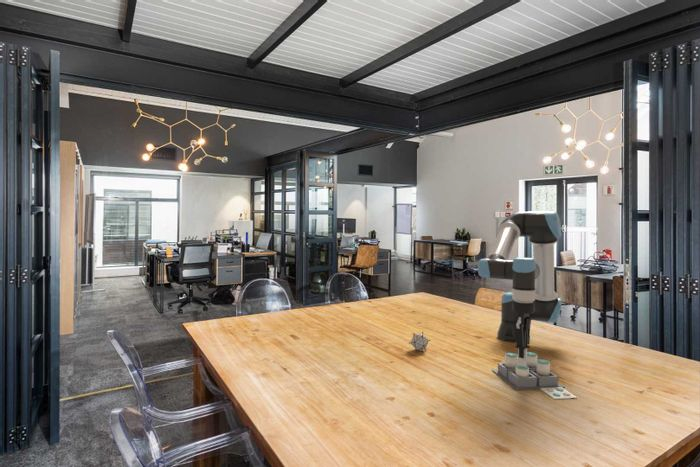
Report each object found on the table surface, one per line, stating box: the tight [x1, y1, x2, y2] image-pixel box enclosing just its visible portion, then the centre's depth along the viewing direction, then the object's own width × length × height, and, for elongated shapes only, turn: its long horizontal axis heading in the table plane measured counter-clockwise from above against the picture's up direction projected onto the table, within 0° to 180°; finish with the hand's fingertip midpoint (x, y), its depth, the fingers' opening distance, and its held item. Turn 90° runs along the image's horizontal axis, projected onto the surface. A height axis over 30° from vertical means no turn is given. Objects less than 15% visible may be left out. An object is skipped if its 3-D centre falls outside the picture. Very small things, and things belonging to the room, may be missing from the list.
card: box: [539, 387, 578, 400], centre depth 137 cm, size 8×8×1 cm
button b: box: [504, 352, 518, 369], centre depth 153 cm, size 4×4×5 cm
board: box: [492, 362, 566, 391], centre depth 149 cm, size 18×18×4 cm
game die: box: [408, 331, 431, 353], centre depth 181 cm, size 9×8×10 cm
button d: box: [527, 351, 538, 368], centre depth 153 cm, size 4×4×5 cm
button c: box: [536, 358, 551, 376], centre depth 145 cm, size 4×4×5 cm
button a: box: [516, 365, 529, 377], centre depth 145 cm, size 4×4×5 cm
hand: (522, 365), depth 144 cm, fingers closed
